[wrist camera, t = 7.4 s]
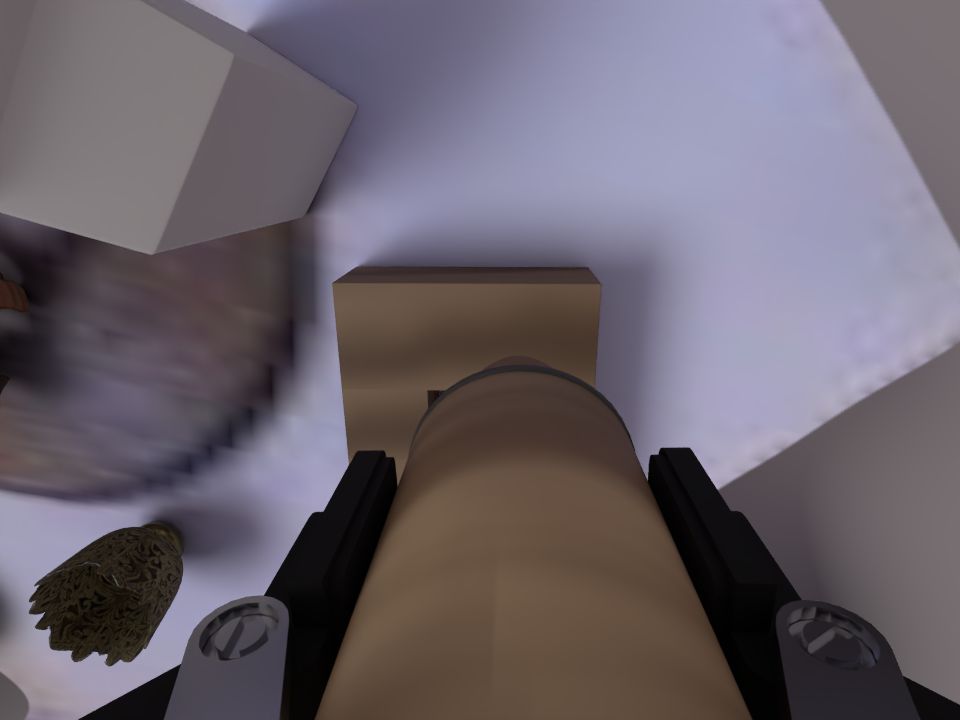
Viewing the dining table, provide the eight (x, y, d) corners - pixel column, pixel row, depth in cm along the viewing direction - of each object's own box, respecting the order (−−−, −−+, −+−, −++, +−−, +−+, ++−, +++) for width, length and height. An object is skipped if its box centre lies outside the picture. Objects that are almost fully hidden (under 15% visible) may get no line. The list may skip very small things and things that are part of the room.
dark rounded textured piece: (216, 506, 40) (148, 585, 33) (212, 586, 43) (149, 677, 35) (113, 486, 40) (21, 560, 32) (115, 568, 42) (31, 655, 35)
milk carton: (360, 106, 31) (156, 22, 13) (305, 217, 33) (65, 278, 15) (244, 30, 30) (-150, -173, 12) (195, 151, 32) (-200, 130, 14)
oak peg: (429, 315, 17) (173, 770, 4) (606, 310, 16) (931, 791, 4) (439, 469, 19) (283, 1131, 6) (600, 468, 18) (809, 1166, 5)
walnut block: (356, 266, 34) (332, 283, 29) (588, 267, 33) (601, 284, 28) (374, 498, 39) (356, 544, 35) (574, 503, 39) (583, 550, 34)
